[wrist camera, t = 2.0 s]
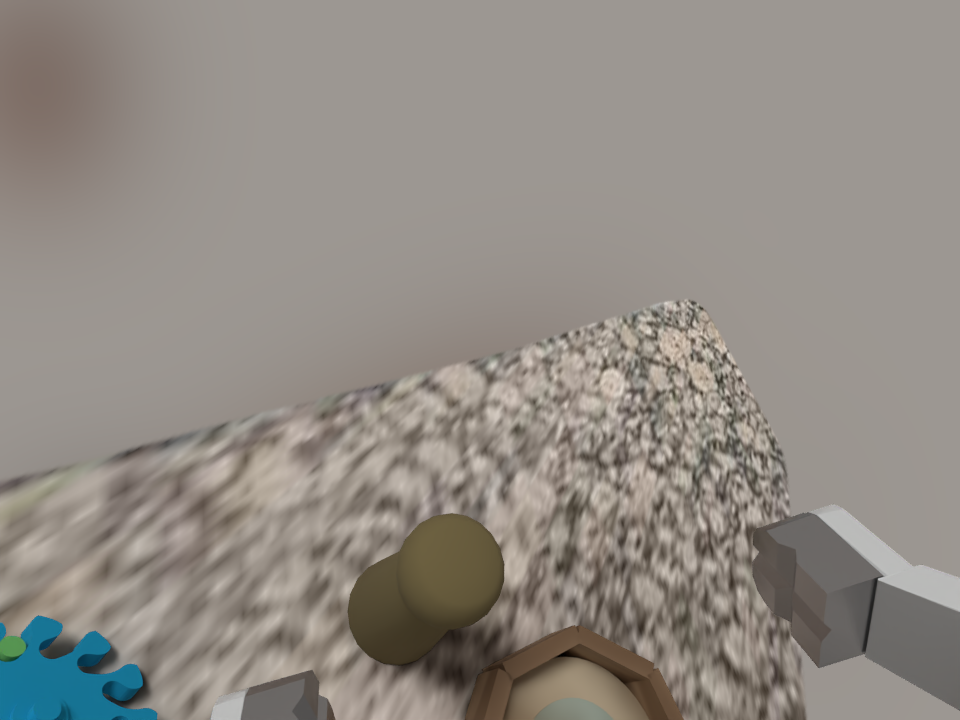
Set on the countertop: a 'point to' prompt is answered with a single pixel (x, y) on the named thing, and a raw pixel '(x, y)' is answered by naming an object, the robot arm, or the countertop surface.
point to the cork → (426, 589)
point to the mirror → (572, 683)
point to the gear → (62, 679)
